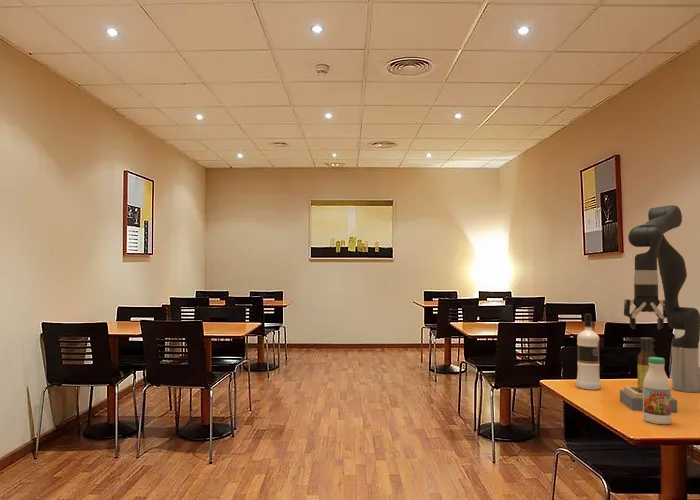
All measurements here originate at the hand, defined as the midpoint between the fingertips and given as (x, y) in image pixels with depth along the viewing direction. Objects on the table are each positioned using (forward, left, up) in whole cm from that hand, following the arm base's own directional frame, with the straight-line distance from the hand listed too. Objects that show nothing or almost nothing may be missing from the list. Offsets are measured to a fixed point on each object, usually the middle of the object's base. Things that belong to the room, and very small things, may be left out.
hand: (646, 329), depth 193 cm
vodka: (+13, -28, -27) cm, 41 cm away
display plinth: (0, 0, -27) cm, 27 cm away
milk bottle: (+4, +21, -27) cm, 35 cm away
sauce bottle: (0, 0, -23) cm, 23 cm away
